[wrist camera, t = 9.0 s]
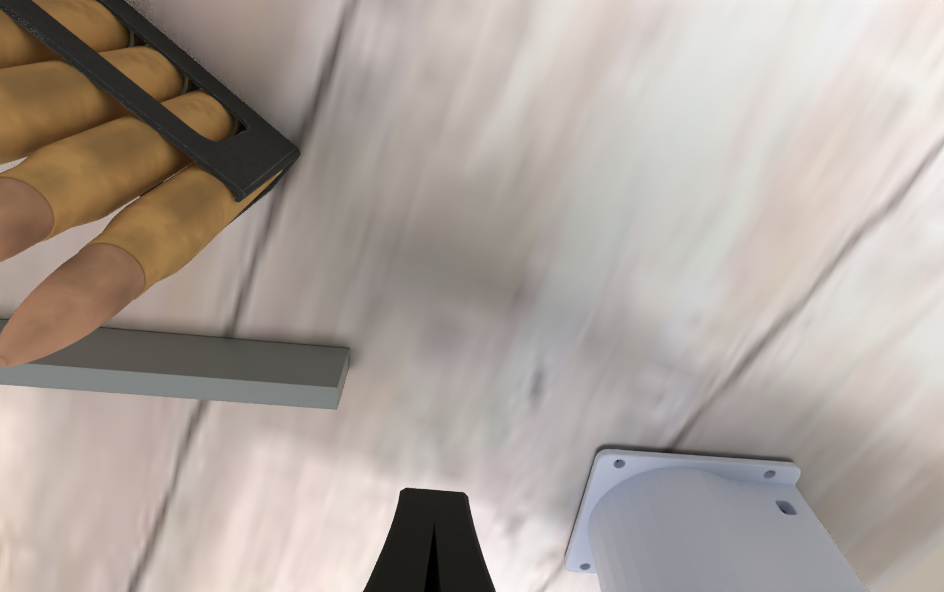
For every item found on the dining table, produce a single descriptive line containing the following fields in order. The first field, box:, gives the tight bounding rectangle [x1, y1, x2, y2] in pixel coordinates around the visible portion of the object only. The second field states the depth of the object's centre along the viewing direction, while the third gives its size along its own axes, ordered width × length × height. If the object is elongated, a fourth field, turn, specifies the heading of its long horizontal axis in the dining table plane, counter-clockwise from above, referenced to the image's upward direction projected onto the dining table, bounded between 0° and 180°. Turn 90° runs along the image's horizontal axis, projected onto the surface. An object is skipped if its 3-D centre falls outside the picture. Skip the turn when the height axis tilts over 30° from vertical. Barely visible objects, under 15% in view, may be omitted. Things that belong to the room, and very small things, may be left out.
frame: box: [0, 319, 349, 410], centre depth 16 cm, size 17×18×2 cm
